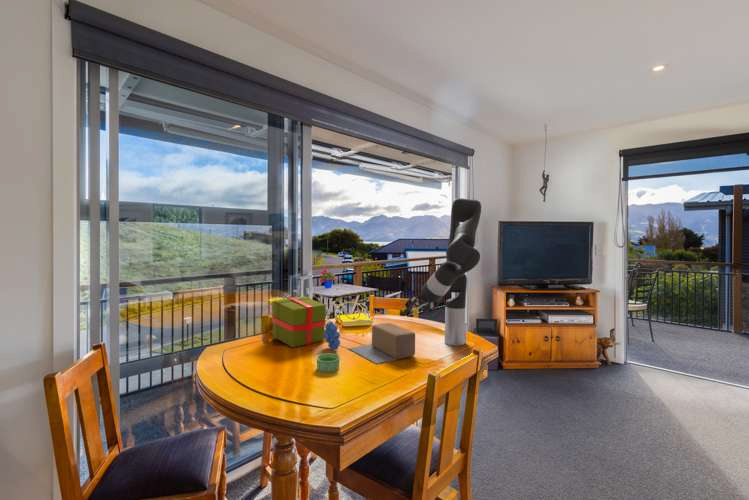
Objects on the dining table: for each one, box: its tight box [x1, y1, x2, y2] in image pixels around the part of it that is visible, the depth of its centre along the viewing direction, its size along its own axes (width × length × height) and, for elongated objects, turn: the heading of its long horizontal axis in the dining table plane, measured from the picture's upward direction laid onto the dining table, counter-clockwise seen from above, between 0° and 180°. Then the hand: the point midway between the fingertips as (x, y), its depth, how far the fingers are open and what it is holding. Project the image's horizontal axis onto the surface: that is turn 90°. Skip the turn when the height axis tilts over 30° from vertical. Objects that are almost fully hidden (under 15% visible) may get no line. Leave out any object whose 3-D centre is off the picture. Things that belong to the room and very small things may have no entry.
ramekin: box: [315, 353, 341, 373], centre depth 139 cm, size 9×9×4 cm
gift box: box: [271, 295, 327, 348], centre depth 176 cm, size 21×21×25 cm
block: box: [371, 322, 416, 360], centre depth 159 cm, size 10×10×20 cm
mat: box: [348, 343, 412, 365], centre depth 159 cm, size 18×22×1 cm
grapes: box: [324, 321, 341, 351], centre depth 162 cm, size 12×7×12 cm, turn 36°
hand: (415, 313), depth 138 cm, fingers open, 8 cm apart
